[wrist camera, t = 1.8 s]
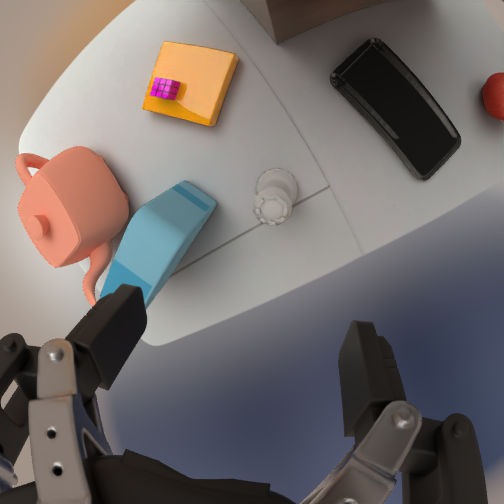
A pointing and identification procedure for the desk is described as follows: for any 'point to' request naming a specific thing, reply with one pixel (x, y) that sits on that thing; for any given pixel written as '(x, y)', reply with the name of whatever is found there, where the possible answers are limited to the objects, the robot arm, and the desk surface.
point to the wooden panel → (299, 14)
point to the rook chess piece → (275, 196)
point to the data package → (158, 239)
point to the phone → (397, 107)
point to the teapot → (72, 210)
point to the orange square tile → (190, 82)
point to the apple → (494, 95)
